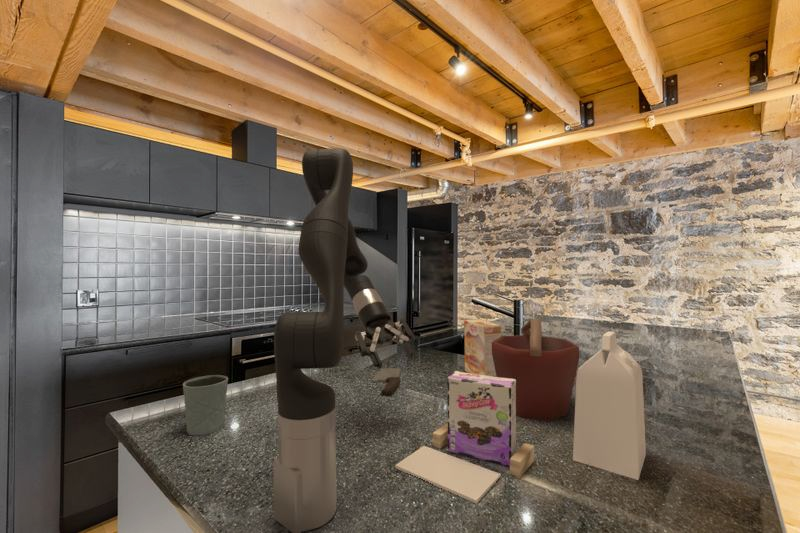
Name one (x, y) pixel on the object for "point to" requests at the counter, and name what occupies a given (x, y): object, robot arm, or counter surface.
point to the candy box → (482, 416)
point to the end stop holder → (517, 461)
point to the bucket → (537, 371)
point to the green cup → (205, 404)
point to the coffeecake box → (480, 346)
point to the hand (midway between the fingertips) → (396, 361)
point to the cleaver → (388, 379)
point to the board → (449, 473)
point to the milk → (610, 411)
